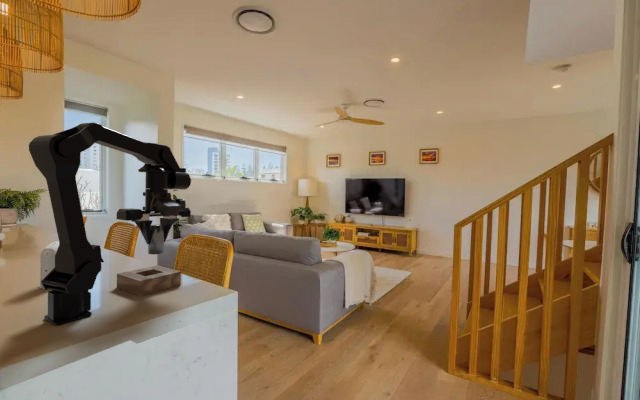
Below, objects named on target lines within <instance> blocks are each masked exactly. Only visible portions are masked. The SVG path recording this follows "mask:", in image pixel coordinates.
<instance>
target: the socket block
mask: <svg viewBox="0 0 640 400" xmlns="http://www.w3.org/2000/svg"><path fill="white" fill-rule="evenodd" d="M181 280H182V271H180V270H176V269H172V268H168V267H165V266H161V265H154V266H148V267H143V268H140V269H134V270H129V271H123V272H120V273H116V288H117V289H119V290H123V291H125V292H127V293H131V294H134V295H137V296H139V297H141V296H145V295H149V294H151V293H152V294H153V293H155V292H159V291H163V290H166V289H170V288H174V287H176V286H177V287H178V286H181V285H182V283H181V282H182V281H181Z"/></svg>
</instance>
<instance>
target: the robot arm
mask: <svg viewBox="0 0 640 400" xmlns="http://www.w3.org/2000/svg"><path fill="white" fill-rule="evenodd" d="M94 144H98V145H100V146H104V147H106V148H108V149H109V148H110V149H113V150H115V151H117V152H118V151H119V152H122V153H125V154H129V155H131V156H133V157H135V158H136V159H137V160H138V161H139V162H142V163H144V164H143V166H142V167H140V168H139V169H138V170H137V171H138V172H139V173H145V190H144V192H142V197H143V196H144V197H145V199H144V200H145V201H144V205H145V206H142V208H141V209H140V208H134V207H133V208H119V209H118V210H117V211H116V220H121V221H131V222H132V223H133V222H134V223H135V224H136V226H137V228H138V230H139V231H140V233H141V236H143V239H144V241H145V243H146V245H148V244H150V241H151V230H150V226H151V225H153V224H152V223H153V220H151V219H150V217H151V218H152V217H159V225H164V243H165V242H166V240H167V238H168V235H169V234H170V231H171V229H172V227H173V225H174V224H175V223H176V222H177V221H179V220H180V218H178V217H181V218H191V217H192V216H191V215H192V211H191V209H190V208H189V207H186V206H187V205H186V204H187V203H186V199H184V198H176V199H172V194H171V192H169V190H184V191H185V190H187V189H189V187H190V186H191V183H192V179H191V176H190V174H189V173H188V172H187V168H184V167H180V165H179V163H178V162H177V160H176V158H175V156H174V154H173V153H172V152H173V151H172V150H171V149H172V148H171V147H170V146H168V145H167V144H162V143H161V144H160V143H157V142H155V143H154V142H147V141H142V140H140V139H137V138H134V137H132V136H129V135H127V134H124V133H121V132H119V131H116V130H113V129H110V128H108V127H106V126H103V125H102V124H100V123H97V122H83V123H79V124H78V125H75V126H74V127H71V128H68V129H65V130H62V131H59V132H56V133H53V134H46V135H38V136H36V137H34V138H33V139H32V140H31V141H30V142H29V144H28V151H29V155H31V158H32V160H33V162H34V166H35V167H36V168H37V170H39V172H40V173H41V174H42V176H43V177H44V179H45V181H46V185H47V189H48V193H49V198H50V204H51V209H52V213H53V218H54V223H55V227H56V232H57V238H58V241H59V247H58V249H57V252H56V254H55V268H54V269H53V270H52V271H51V272H50V273H49V274H48V275H47V276H46V277H45V278H44V279H43V280H42V281H41V283H42V286H43V288H44V289H43V288H42V289H43V290H46V291H47V314H46V315H44V316H43V318H44V319H45V320H46V321H48V322H50V323H51V324H53V325H55V326H59V325H63V324H66V323H69V322H72V321H75V320H79V319H83V318H87V317H89V316H92V315H93V313H92V312H91V308H92V300H91V299H92V293H91V292H90V291H89V290H92V289H93V288H94V286H95V284H96V280H97V276H99V273H101V272H102V263H104V262H105V261H104V259H103V257H102V248H101V246H100V245H99V244H91V243H90V241H89V240H88V236H87V231H86V228H85V227H86V226H85V221H84V216H83V210H82V205H81V200H80V199H81V198H80V194H79V189H78V185H77V179H76V178H77V174H78V171H79V168H80V165H81V153H82V152H84V151H86V150H88V149H90V148H91V147H92V146H93V145H94Z"/></svg>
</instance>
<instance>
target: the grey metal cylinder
mask: <svg viewBox="0 0 640 400" xmlns="http://www.w3.org/2000/svg"><path fill="white" fill-rule="evenodd" d="M150 230H151V241H150V244H147V254H148V255H162V254H164V253H165V250H164V249H165V242H164V225H160V224H151V226H150Z"/></svg>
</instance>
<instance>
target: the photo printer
mask: <svg viewBox="0 0 640 400" xmlns="http://www.w3.org/2000/svg"><path fill="white" fill-rule="evenodd" d="M58 247H59V240H58V241H53V242H51V243H49V244H47V245H46V246H45V247H44V248H43V249H42V250H41V252H40V256H39V257H40V263H39V264H40V269H39V270H40V276H39V277H40V278H39V279H40V283H39V284H40V288H41V289H42V290H45V289H44V288H43V286H42V283H41V281H42V280H43V279H44V278H45V277H46V276H47V275H48V274H49V273H50V272H51V271H52V270H53V269H54V268H55V254H56V252H57V249H58Z"/></svg>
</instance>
